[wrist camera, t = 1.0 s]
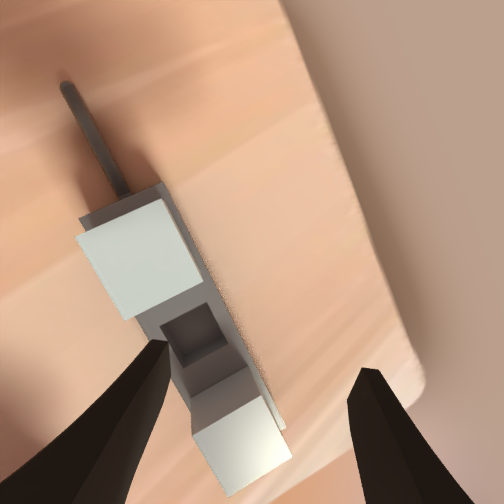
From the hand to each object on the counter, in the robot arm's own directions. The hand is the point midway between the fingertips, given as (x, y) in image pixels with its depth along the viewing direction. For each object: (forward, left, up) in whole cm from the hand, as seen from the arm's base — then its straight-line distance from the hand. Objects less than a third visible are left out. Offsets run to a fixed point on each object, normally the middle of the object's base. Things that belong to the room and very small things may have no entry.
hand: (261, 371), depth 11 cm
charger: (-3, +5, -13) cm, 15 cm away
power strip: (-3, +3, -14) cm, 15 cm away
